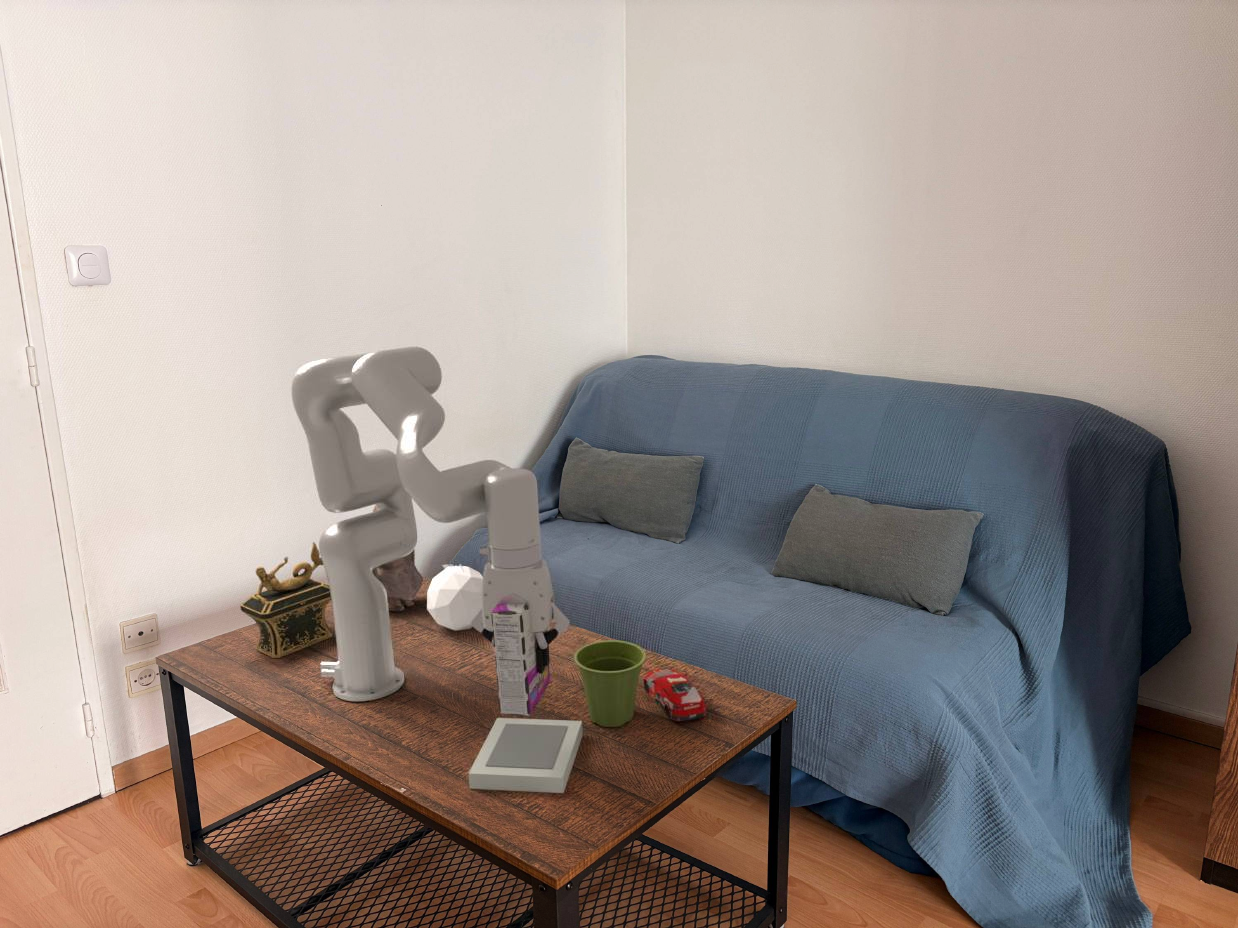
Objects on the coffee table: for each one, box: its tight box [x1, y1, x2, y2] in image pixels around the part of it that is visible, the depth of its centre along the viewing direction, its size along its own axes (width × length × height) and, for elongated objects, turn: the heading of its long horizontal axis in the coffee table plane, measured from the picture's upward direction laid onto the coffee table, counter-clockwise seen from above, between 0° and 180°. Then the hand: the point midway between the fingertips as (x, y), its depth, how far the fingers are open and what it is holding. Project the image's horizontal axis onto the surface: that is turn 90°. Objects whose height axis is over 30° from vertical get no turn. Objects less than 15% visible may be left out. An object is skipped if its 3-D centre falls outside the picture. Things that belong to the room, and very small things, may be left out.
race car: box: [643, 668, 707, 722], centre depth 156 cm, size 16×7×5 cm, turn 18°
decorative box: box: [239, 541, 334, 659], centre depth 185 cm, size 20×10×20 cm, turn 140°
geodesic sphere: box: [426, 563, 483, 631], centre depth 190 cm, size 14×14×14 cm
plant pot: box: [573, 639, 647, 728], centre depth 151 cm, size 12×12×11 cm
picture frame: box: [468, 717, 584, 794], centre depth 140 cm, size 14×16×3 cm
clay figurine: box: [372, 505, 424, 613], centre depth 199 cm, size 13×10×25 cm
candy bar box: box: [491, 604, 551, 717], centre depth 136 cm, size 11×5×16 cm, turn 169°
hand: (523, 667), depth 137 cm, fingers closed on candy bar box, 5 cm apart
